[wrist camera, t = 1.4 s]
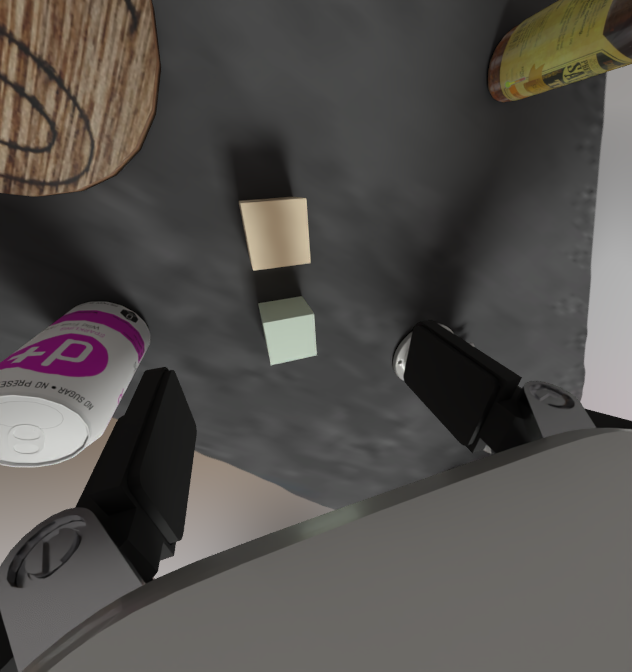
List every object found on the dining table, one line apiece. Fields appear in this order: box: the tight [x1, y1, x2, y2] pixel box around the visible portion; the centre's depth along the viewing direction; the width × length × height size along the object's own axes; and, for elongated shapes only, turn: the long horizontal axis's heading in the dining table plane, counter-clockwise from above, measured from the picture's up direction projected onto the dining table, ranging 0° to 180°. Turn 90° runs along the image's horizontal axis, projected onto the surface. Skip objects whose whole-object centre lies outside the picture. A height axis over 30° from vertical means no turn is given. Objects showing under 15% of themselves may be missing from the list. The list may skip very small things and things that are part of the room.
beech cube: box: [239, 197, 311, 271], centre depth 27 cm, size 6×6×6 cm
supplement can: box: [0, 302, 150, 467], centre depth 23 cm, size 8×8×15 cm
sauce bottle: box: [488, 0, 632, 102], centre depth 20 cm, size 7×6×20 cm
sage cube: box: [258, 296, 317, 365], centre depth 33 cm, size 6×6×6 cm
